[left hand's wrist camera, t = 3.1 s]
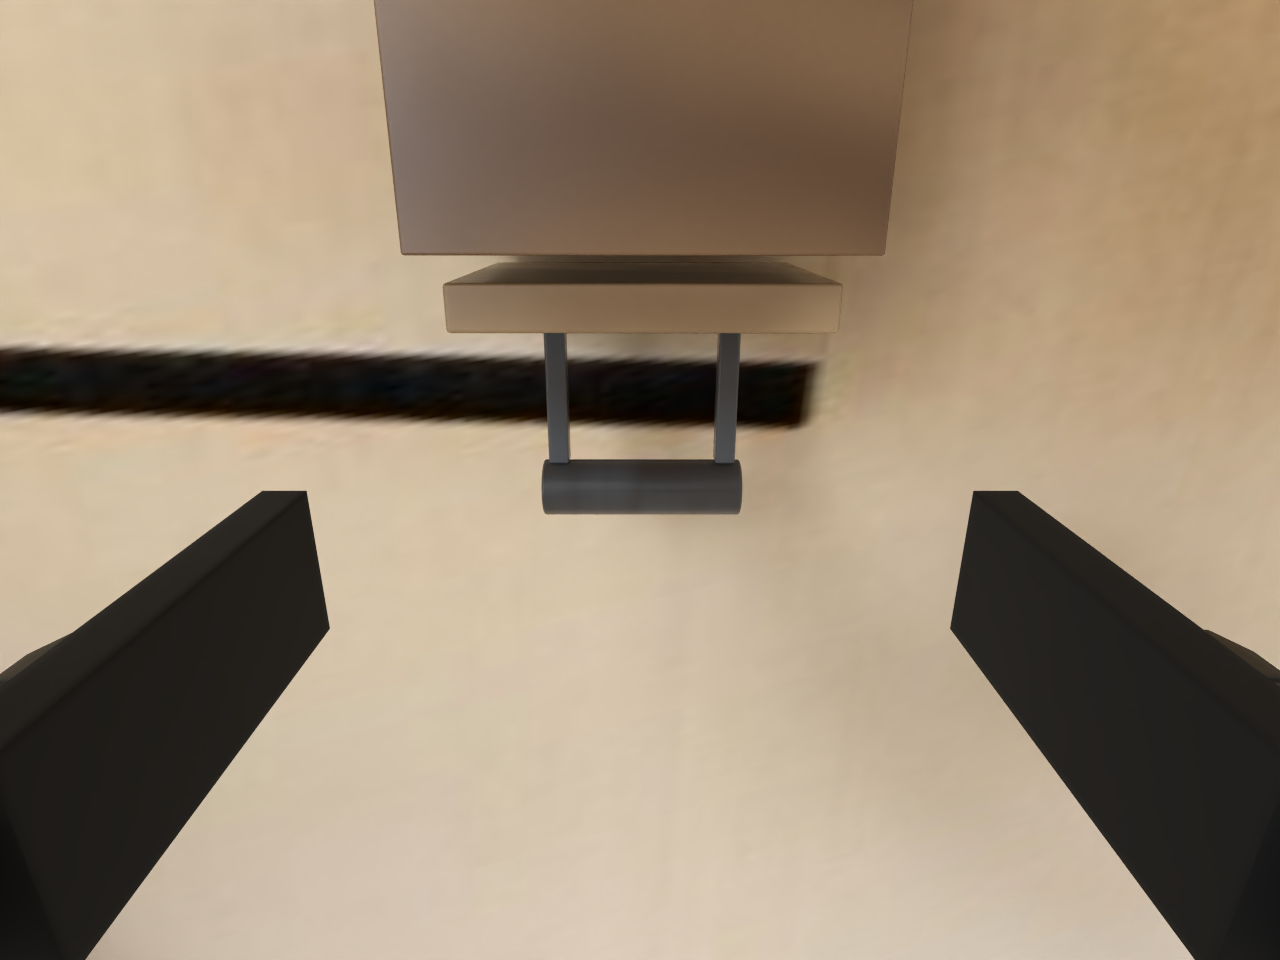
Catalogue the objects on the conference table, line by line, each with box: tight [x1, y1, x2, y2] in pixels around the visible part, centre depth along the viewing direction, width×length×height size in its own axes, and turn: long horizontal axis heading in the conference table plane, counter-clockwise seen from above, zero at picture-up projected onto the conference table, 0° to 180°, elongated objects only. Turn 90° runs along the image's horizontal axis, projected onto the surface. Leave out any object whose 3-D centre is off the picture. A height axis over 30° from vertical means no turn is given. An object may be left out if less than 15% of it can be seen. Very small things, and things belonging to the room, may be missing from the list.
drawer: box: [443, 263, 843, 514], centre depth 20 cm, size 21×10×7 cm, turn 0°
